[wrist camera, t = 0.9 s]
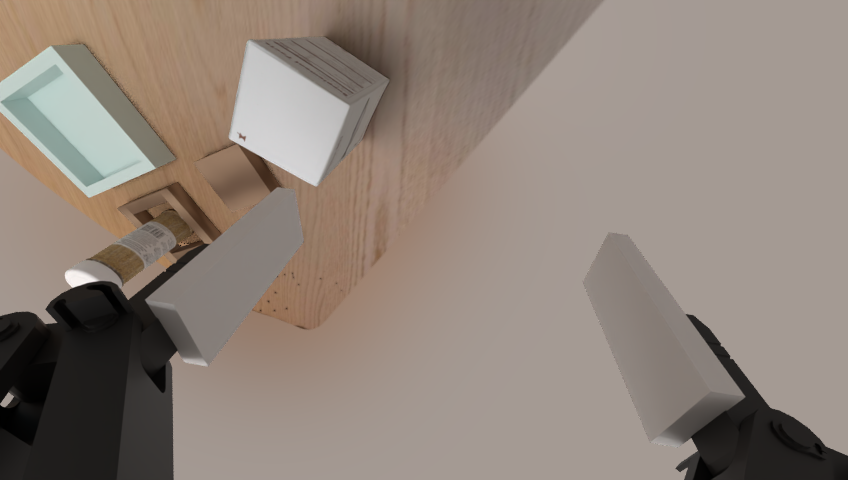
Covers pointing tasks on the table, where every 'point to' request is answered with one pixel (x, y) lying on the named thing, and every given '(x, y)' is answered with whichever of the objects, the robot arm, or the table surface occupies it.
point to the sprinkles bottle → (132, 252)
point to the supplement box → (303, 104)
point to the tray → (81, 119)
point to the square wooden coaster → (237, 176)
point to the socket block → (184, 208)
